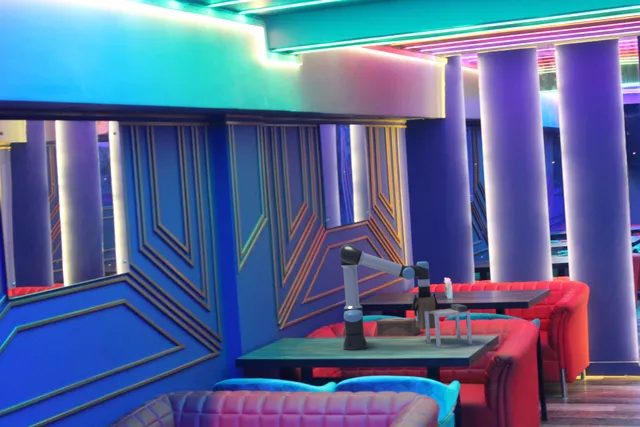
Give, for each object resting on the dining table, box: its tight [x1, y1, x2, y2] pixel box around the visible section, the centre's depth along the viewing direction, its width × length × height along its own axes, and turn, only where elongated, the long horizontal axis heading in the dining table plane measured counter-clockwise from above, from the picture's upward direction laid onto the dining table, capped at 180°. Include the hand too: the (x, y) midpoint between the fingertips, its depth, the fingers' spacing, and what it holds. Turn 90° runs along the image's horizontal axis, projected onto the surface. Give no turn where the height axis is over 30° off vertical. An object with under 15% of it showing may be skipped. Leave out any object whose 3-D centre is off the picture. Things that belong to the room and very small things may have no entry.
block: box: [415, 296, 436, 330], centre depth 609 cm, size 10×10×20 cm
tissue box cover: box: [376, 317, 422, 337], centre depth 645 cm, size 26×14×10 cm, turn 63°
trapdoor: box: [429, 303, 468, 315], centre depth 590 cm, size 17×19×4 cm
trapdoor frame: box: [424, 308, 473, 349], centre depth 590 cm, size 22×22×20 cm
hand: (425, 320), depth 609 cm, fingers closed on block, 11 cm apart
